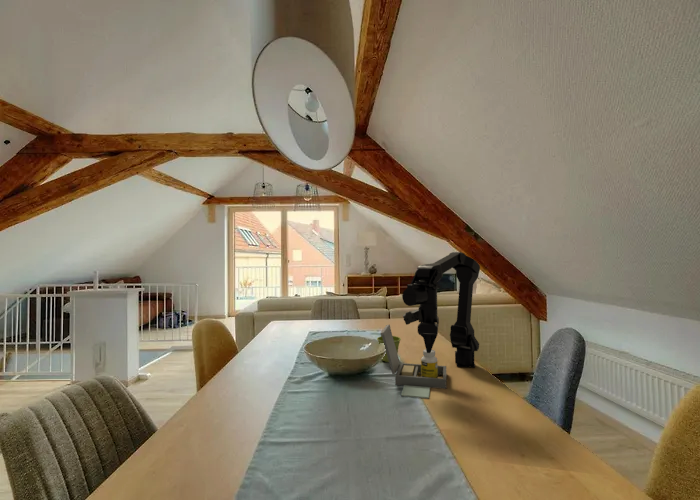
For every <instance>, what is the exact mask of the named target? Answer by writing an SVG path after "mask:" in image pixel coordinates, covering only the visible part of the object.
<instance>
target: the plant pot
mask: <svg viewBox="0 0 700 500" xmlns="http://www.w3.org/2000/svg"><path fill="white" fill-rule="evenodd" d="M392 336H393V339H394V343H395V347H396V350H397V354H399V348H400V347H399V346H400V342H401V340H402V337H399V336H395V335H392ZM376 340H377V343H378V342H379V343H378V345H379V344H380V343H384V342H383V338H382V337H381V336H378V337H377V338H376ZM381 361H383V362H385V363H389V360H388V356H387V352H386V354H385V356H384V357H383V359H381Z"/></svg>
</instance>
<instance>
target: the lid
mask: <svg viewBox="0 0 700 500" xmlns="http://www.w3.org/2000/svg"><path fill="white" fill-rule="evenodd" d="M393 336H394V335H393V333H392V329H391V325H390V324H387V325H385V327H383V329H382V330H381V331H380V337H382V338H383V342H384V345H385V349H386V352H387V356H388V360H389V362H388V363H389V366H390V370H391V374H392V375H396V373H397V371H396V370H397V368H398V365H400V363H401V362H400V358H399V355H398V354H399V353H398V354H397V350H396V347H395V343H394V339H393Z"/></svg>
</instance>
